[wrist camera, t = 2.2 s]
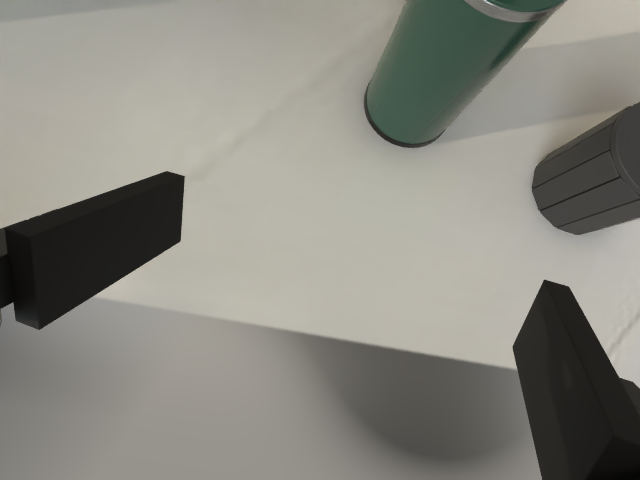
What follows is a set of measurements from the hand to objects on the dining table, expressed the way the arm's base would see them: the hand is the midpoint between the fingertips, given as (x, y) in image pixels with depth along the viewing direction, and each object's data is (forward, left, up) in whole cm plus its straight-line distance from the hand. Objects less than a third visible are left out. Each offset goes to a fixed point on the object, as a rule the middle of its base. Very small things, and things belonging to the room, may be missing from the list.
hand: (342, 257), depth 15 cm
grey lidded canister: (-18, +23, -21) cm, 36 cm away
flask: (-21, +5, -21) cm, 30 cm away
